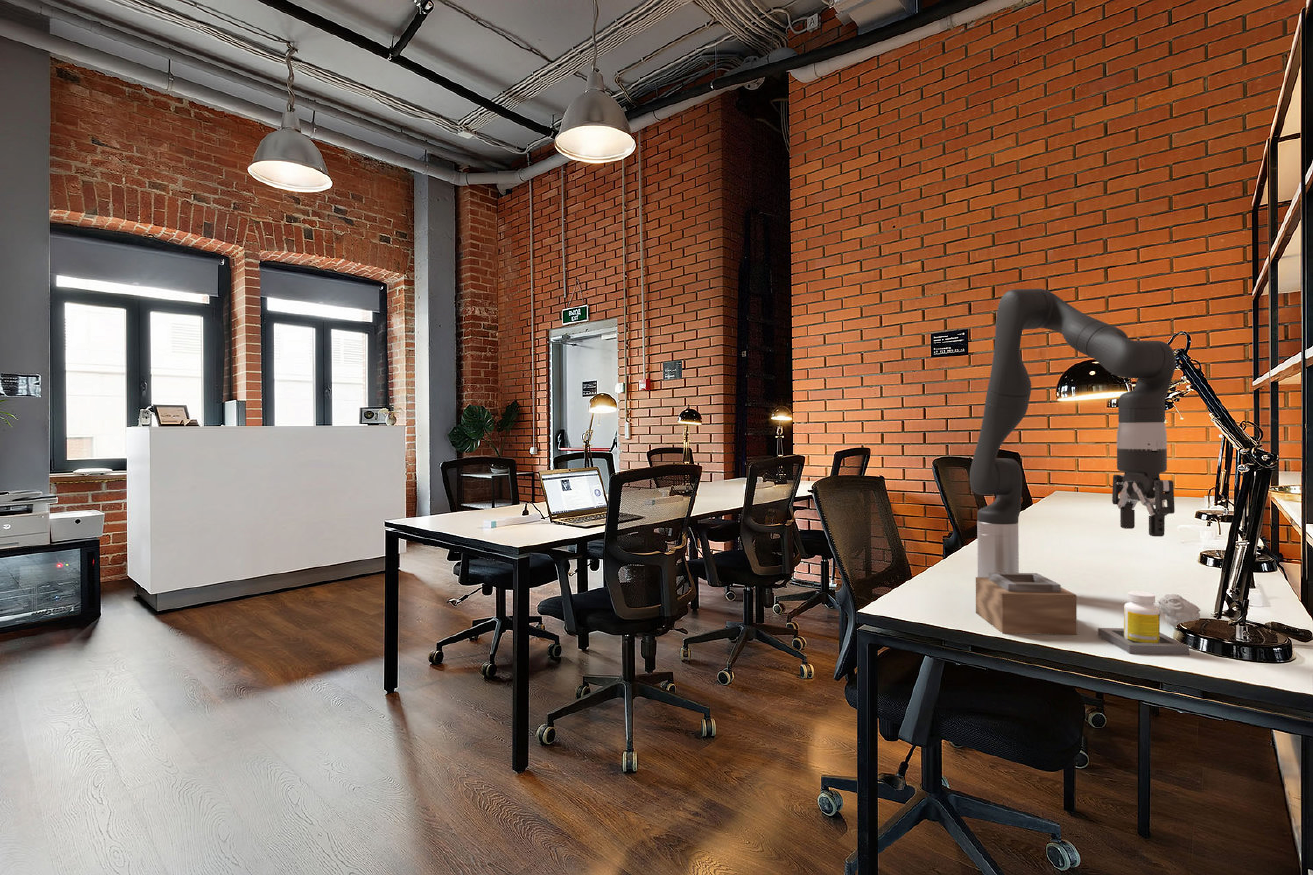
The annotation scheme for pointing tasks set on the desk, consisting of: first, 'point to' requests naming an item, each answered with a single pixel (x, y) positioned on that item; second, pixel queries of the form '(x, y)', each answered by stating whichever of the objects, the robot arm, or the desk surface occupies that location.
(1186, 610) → the frog figurine
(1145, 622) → the supplement bottle
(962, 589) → the desk surface
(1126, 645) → the frame
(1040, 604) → the walnut stand
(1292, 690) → the desk surface
